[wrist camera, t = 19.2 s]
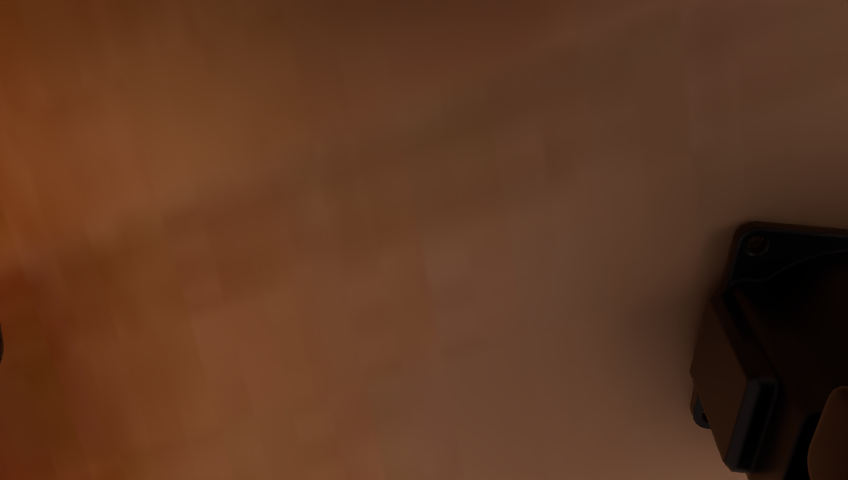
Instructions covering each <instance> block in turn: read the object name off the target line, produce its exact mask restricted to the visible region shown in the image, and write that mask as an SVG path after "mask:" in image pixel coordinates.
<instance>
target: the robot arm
mask: <svg viewBox="0 0 848 480" xmlns="http://www.w3.org/2000/svg"><path fill="white" fill-rule="evenodd" d="M757 236H760V237H763V240H762V241H761V243H760V244H759V245H757V246H756V247H748V246H747V243H748V241H749V240H750V239H752V238H753V237H757ZM3 348H4V345H3V337H2V331H1V324H0V363H1V360H2V356H3ZM690 374H691V377H692V379H693V382H694V385H695V389H694V393H693V397H692V401H691V405H690V410H691V413H692V416H693V419H694V421H695V423H696V424H697V425H699V426H700V427H703V428H707V429H711V431H712V433H713V436H714V439H715V441H716V444H717V447H718V450H719V452H720V455H721V458H722V460H723V462H724V463H725V465H726V466H727V467H728V468H729V469H730V471H731V472H740V473H746V475H747V478H748V480H848V230H847V229H836V228H825V227H814V226H803V225H792V224H781V223H770V222H759V221H756V222H748V223H746V224H744V225H742V226H741V227H740V228H739V229H738V230H737V231H736V233H735V235H734V237H733V241H732V245H731V249H730V253H729V256H728V260H727V264H726V268H725V272H724V276H723V280H722V284H721V288H720V292H715V293H714V294H713V295H712V296H711V297H710V298H708V300H707V304H706V308H705V312H704V316H703V320H702V324H701V328H700V332H699V336H698V340H697V344H696V348H695V352H694V356H693V360H692V364H691V368H690ZM703 411H704V412H705V413H703Z"/></svg>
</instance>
